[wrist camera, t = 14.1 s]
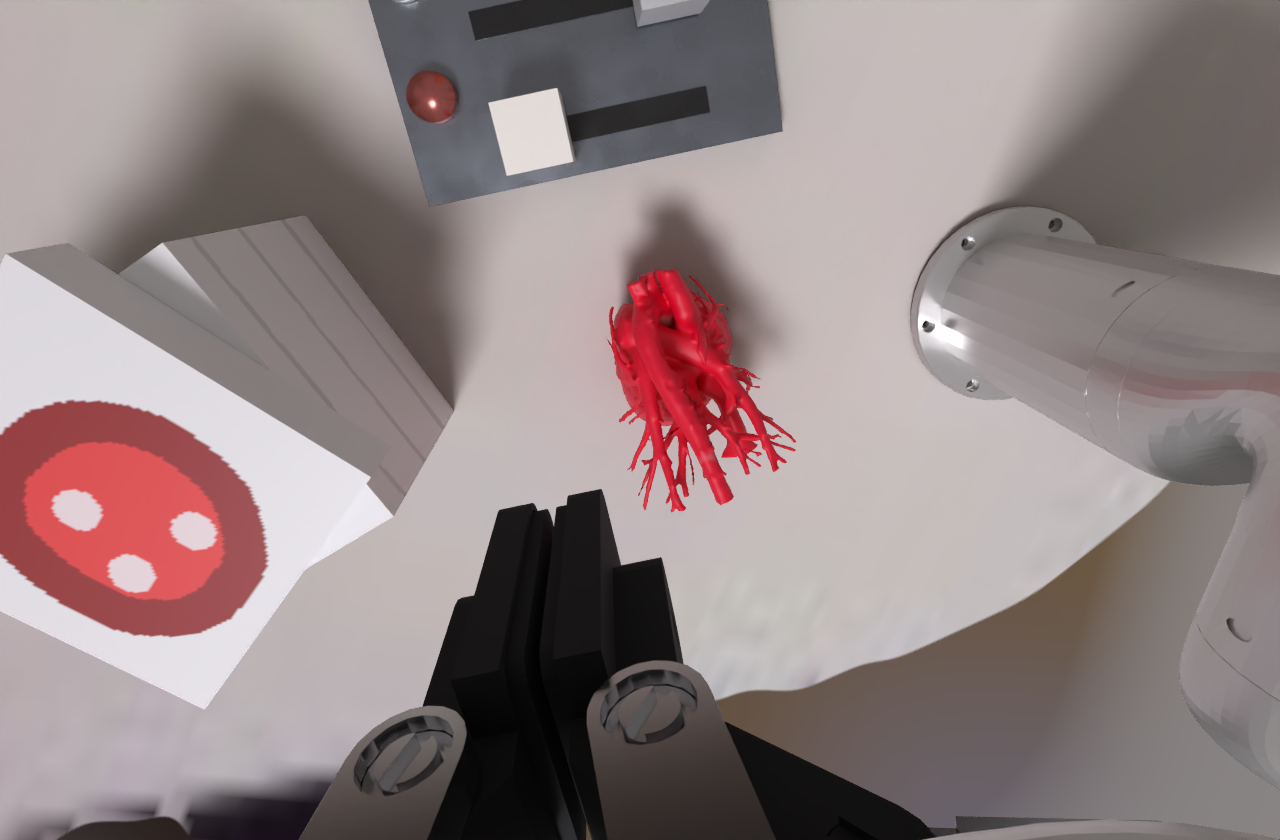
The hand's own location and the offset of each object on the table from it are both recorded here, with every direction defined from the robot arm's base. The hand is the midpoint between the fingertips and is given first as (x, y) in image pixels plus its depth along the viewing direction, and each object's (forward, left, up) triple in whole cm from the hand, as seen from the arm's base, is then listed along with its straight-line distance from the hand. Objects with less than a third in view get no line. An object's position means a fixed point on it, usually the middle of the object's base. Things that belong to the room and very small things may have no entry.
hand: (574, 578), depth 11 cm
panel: (-2, -14, -35) cm, 38 cm away
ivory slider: (+1, -8, -33) cm, 34 cm away
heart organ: (-4, +6, -35) cm, 36 cm away
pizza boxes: (+26, +5, -35) cm, 44 cm away
